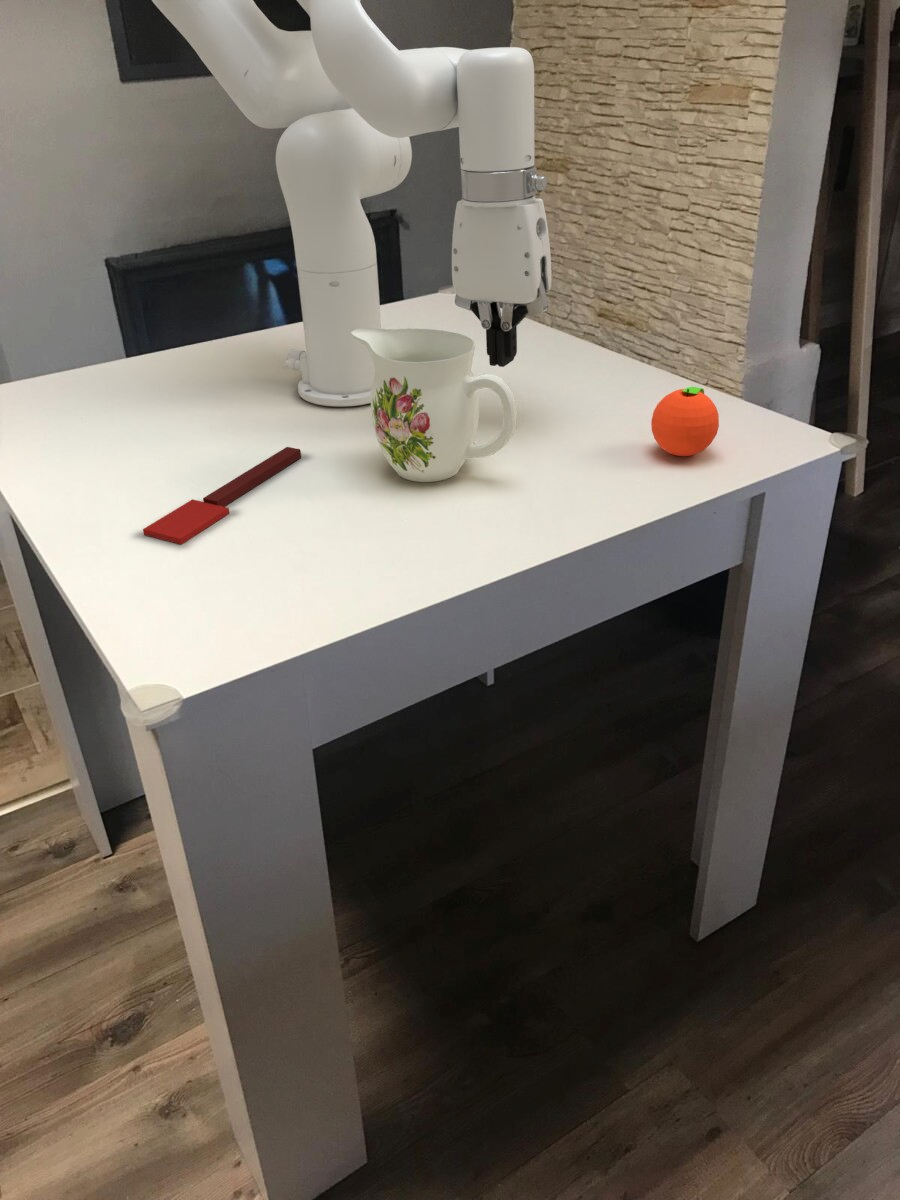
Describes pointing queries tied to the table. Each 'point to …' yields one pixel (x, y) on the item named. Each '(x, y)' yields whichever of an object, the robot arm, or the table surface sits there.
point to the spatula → (217, 501)
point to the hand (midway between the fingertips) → (502, 362)
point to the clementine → (685, 422)
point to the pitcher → (429, 401)
